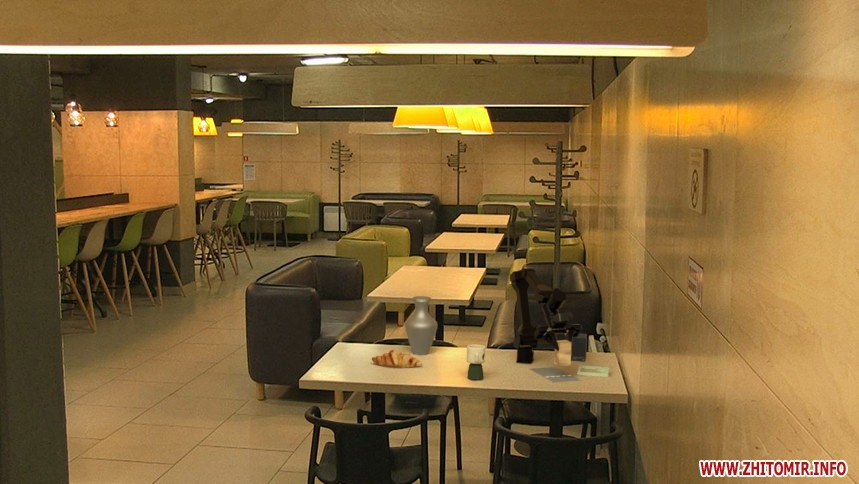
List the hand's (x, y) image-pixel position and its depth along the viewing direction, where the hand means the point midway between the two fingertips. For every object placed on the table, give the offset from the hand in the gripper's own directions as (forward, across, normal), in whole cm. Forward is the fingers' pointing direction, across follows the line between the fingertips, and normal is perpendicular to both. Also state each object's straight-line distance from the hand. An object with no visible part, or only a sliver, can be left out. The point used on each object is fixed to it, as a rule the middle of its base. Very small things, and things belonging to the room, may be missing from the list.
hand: (564, 349), depth 325 cm
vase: (-34, -38, +52) cm, 73 cm away
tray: (+4, +17, +14) cm, 23 cm away
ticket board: (+4, 0, +14) cm, 15 cm away
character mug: (0, -31, +19) cm, 37 cm away
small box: (-16, +26, +35) cm, 46 cm away
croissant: (-20, -55, +39) cm, 70 cm away
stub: (+3, 0, +5) cm, 6 cm away
